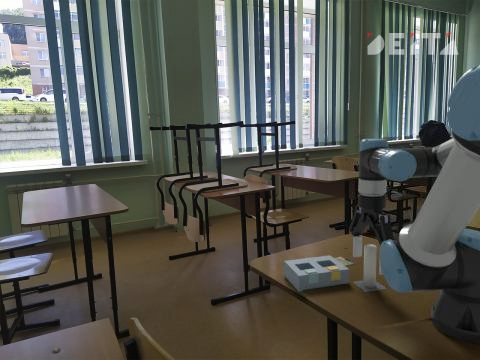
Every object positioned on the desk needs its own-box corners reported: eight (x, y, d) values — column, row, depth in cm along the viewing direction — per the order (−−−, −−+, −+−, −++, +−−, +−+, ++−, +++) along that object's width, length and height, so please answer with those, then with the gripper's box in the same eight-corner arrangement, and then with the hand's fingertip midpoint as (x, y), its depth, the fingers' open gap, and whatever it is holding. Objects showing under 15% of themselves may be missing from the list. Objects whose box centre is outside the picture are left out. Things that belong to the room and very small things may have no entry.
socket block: (349, 285, 113) (349, 268, 112) (299, 292, 109) (299, 275, 108) (329, 269, 125) (330, 254, 124) (284, 275, 121) (284, 260, 120)
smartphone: (304, 265, 130) (304, 262, 130) (341, 259, 135) (341, 255, 135) (316, 274, 123) (316, 270, 122) (355, 267, 127) (355, 263, 127)
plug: (377, 286, 110) (379, 247, 108) (367, 288, 109) (368, 248, 108) (371, 281, 114) (372, 243, 112) (361, 283, 113) (361, 244, 111)
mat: (386, 290, 109) (387, 288, 109) (365, 293, 107) (365, 291, 107) (372, 280, 116) (372, 278, 116) (352, 283, 114) (352, 281, 114)
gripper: (413, 201, 96) (409, 280, 99) (359, 185, 120) (358, 249, 123) (387, 204, 94) (384, 284, 98) (338, 186, 118) (337, 251, 122)
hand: (369, 264), depth 110 cm, fingers open, 13 cm apart
